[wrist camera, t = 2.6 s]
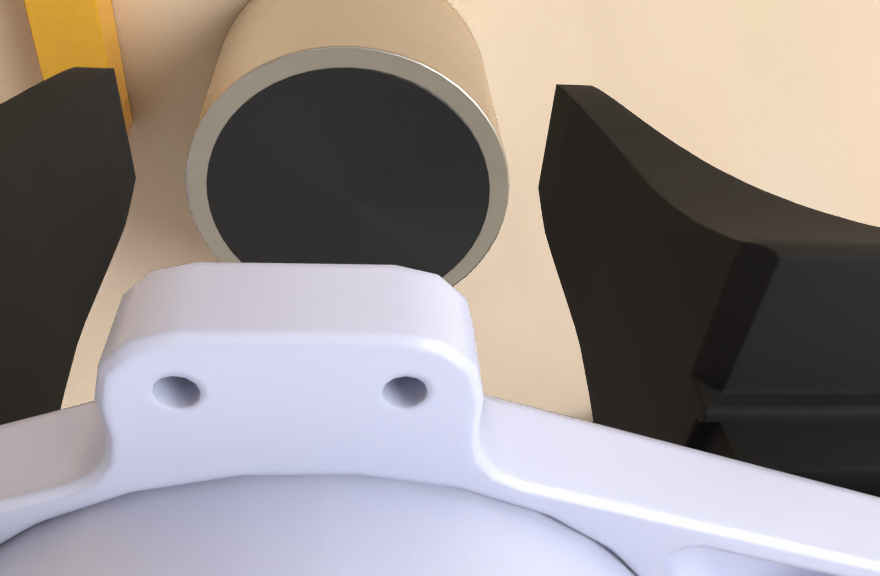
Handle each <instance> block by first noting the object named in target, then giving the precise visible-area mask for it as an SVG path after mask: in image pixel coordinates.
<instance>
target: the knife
mask: <svg viewBox="0 0 880 576" xmlns="http://www.w3.org/2000/svg"><path fill="white" fill-rule="evenodd" d="M24 4H25V8H26V12H27V16H28V20H29V24H30V28H31V32H32V37H33V41H34V45H35V49H36V53H37V57H38V61H39V65H40V69H41V73H42V77H43V81H44V80H46V79H48V78H50V77H52V76H54V75H56V74H58V73H60V72H62V71H65V70H67V69H70V68H73V67H91V68H114V70H115V75H116V80H117V85H118V90H119V95H120V100H121V105H122V110H123V115H124V120H125V125H126V131H127V134H128V132H129V130H130V128H131V125H132V123H133V121H132V115H131V109H130V104H129V98H128V92H127V87H126V81H125V75H124V69H123V64H122V58H121V52H120V47H119V41H118V35H117V30H116V24H115V18H114V13H113V7H112V1H111V0H24Z"/></svg>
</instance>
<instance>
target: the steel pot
mask: <svg viewBox="0 0 880 576" xmlns="http://www.w3.org/2000/svg"><path fill="white" fill-rule="evenodd" d="M186 190H187V197H188V201H189V206H190V210H191V213H192V216H193V218H194V221H195V224H196V226H197V228H198V230H199V232H200V234H201V236H202V237H203V239H204V241H205V243H206V244H207V246H208V247H209V248H210V250H211V251H212V252H213V254H214V255H215V256H216V258H217V259H218V260H219V261H220V262H233V263H302V264H371V265H398V266H402V267H407V268H411V269H415V270H420V271H424V272H429V273H433V274H437V275H439V276H440V277H442V278H443V279H444V280H445V281H446V282H447V283H449V284H450V285H451V286H452V287H453V286H454V285H456V284H457V283H458V282H459V281H461V280H462V279H463V278H465V277H466V276H467V275H468V274H469V273H470V272H471V271H472V270H473V269H474V268H475V267H476V266H477V265H478V264H479V262H480V261H481V260H482V259H483V257H484V256H485V255H486V254H487V252H488V251H489V249H490V247H491V246H492V244H493V242H494V241H495V239H496V237H497V235H498V233H499V230H500V228H501V225H502V223H503V221H504V217H505V213H506V209H507V205H508V196H509V173H508V165H507V161H506V157H505V152H504V148H503V144H502V140H501V136H500V132H499V128H498V123H497V119H496V115H495V111H494V107H493V103H492V99H491V95H490V91H489V87H488V83H487V79H486V75H485V70H484V66H483V62H482V58H481V55H480V52H479V50H478V47H477V44H476V42H475V39H474V38H473V36H472V34H471V32H470V30H469V29H468V27H467V25H466V24H465V22H464V21H463V20H462V18H461V17H460V16H459V14H458V13H457V12H456V10H455V9H454V8H453V7H452V6H451V5H450V4H449V3H448V2H447V1H446V0H251V1H250V2H249V3H248V4H247V5H246V6H245V7H244V9H243V10H242V11H241V12H240V13H239V15H238V17H237V18H236V20H235V21H234V23H233V24H232V26H231V28H230V30H229V32H228V34H227V36H226V39H225V41H224V43H223V46H222V49H221V52H220V56H219V59H218V62H217V65H216V68H215V71H214V74H213V77H212V80H211V83H210V86H209V89H208V92H207V95H206V98H205V101H204V104H203V108H202V111H201V114H200V117H199V120H198V123H197V126H196V129H195V132H194V135H193V138H192V142H191V145H190V149H189V153H188V156H187V166H186Z"/></svg>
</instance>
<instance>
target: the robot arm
mask: <svg viewBox="0 0 880 576" xmlns="http://www.w3.org/2000/svg"><path fill="white" fill-rule="evenodd" d="M135 180H136V176H135V171H134V166H133V161H132V156H131V151H130V146H129V141H128V136H127V131H126V125H125V120H124V115H123V110H122V105H121V100H120V95H119V90H118V85H117V80H116V75H115V70H114V68H91V67H73V68H70V69H67V70H65V71H62V72H60V73H58V74H56V75H54V76H52V77H50V78H48V79H46V80H44V81H42V82H41V83H39V84H37V85H35V86H33V87H31V88H29V89H28V90H26V91H24V92H22V93H20V94H19V95H17V96H15V97H13V98H11V99H9V100H7V101H6V102H4V103H2V104H0V576H880V227H875V226H871V225H866V224H862V223H858V222H855V221H851V220H848V219H844V218H841V217H837V216H834V215H830V214H827V213H823V212H820V211H817V210H814V209H811V208H808V207H805V206H802V205H799V204H796V203H794V202H791V201H789V200H786V199H784V198H781V197H778V196H776V195H773V194H771V193H768V192H765V191H763V190H761V189H759V188H756V187H754V186H752V185H749V184H747V183H745V182H743V181H741V180H739V179H737V178H735V177H733V176H731V175H729V174H727V173H725V172H723V171H721V170H719V169H717V168H715V167H713V166H712V165H710V164H708V163H706V162H705V161H703V160H701V159H699V158H698V157H696V156H695V155H693V154H691V153H690V152H688V151H687V150H685V149H683V148H682V147H680V146H679V145H677V144H675V143H674V142H673V141H671V140H670V139H668V138H667V137H665V136H664V135H662V134H661V133H659V132H658V131H656V130H655V129H654V128H652V127H651V126H649V125H648V124H647V123H645V122H644V121H643V120H641V119H640V118H638V117H637V116H636V115H634V114H633V113H632V112H630V111H629V110H628V109H626V108H625V107H624V106H622V105H621V104H620V103H618V102H617V101H615V100H614V99H613V98H611V97H610V96H608V95H607V94H605V93H604V92H602V91H601V90H599V89H597V88H595V87H594V86H585V85H558V84H556V90H555V96H554V101H553V107H552V113H551V119H550V124H549V130H548V136H547V141H546V147H545V153H544V158H543V164H542V170H541V175H540V181H539V187H538V189H539V196H540V203H541V210H542V217H543V223H544V229H545V234H546V237H547V241H548V244H549V247H550V250H551V254H552V257H553V260H554V263H555V266H556V269H557V273H558V276H559V279H560V282H561V285H562V288H563V291H564V294H565V297H566V300H567V303H568V307H569V310H570V313H571V316H572V319H573V322H574V325H575V329H576V332H577V336H578V340H579V344H580V348H581V353H582V358H583V364H584V369H585V374H586V380H587V385H588V390H589V396H590V402H591V409H592V415H593V421H594V423H592V422H588V421H585V420H581V419H577V418H573V417H569V416H565V415H561V414H558V413H554V412H550V411H546V410H542V409H538V408H535V407H531V406H527V405H523V404H519V403H515V402H512V401H508V400H504V399H500V398H496V397H492V396H488V395H485V394H483V389H482V382H481V375H480V368H479V361H478V354H477V347H476V340H475V333H474V328H473V323H472V319H471V315H470V310H469V306H468V301H467V299H466V298H465V297H464V296H463V295H461V294H460V293H459V292H458V291H457V290H456V289H454V288H453V287H452V286H451V285H450V284H449V283H447V282H446V281H445V280H444V279H443V278H442V277H440V276H439V275H437V274H433V273H429V272H424V271H420V270H415V269H411V268H407V267H402V266H398V265H371V264H302V263H233V262H193V263H188V264H183V265H178V266H173V267H168V268H163V269H158V270H153V271H150V272H149V273H148V274H147V275H146V276H145V277H144V278H142V279H141V280H140V281H139V282H138V283H137V284H136V285H134V286H133V287H132V288H131V289H130V290H129V291H128V292H126V293H125V294H124V295H123V297H122V300H121V302H120V305H119V308H118V311H117V314H116V317H115V319H114V322H113V325H112V328H111V331H110V334H109V336H108V339H107V342H106V345H105V348H104V350H103V353H102V356H101V359H100V362H99V365H98V372H97V381H96V390H95V401H92V402H88V403H84V404H80V405H77V406H73V407H69V408H65V409H61V404H62V400H63V396H64V392H65V388H66V384H67V381H68V377H69V373H70V369H71V366H72V362H73V358H74V354H75V351H76V347H77V344H78V341H79V338H80V335H81V332H82V330H83V327H84V324H85V321H86V319H87V317H88V314H89V312H90V310H91V307H92V305H93V302H94V300H95V298H96V295H97V293H98V290H99V288H100V286H101V283H102V281H103V279H104V276H105V274H106V271H107V269H108V267H109V264H110V262H111V260H112V257H113V255H114V252H115V250H116V247H117V245H118V242H119V240H120V237H121V235H122V232H123V230H124V227H125V224H126V220H127V216H128V212H129V208H130V204H131V199H132V194H133V189H134V184H135ZM60 409H61V410H60Z"/></svg>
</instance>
